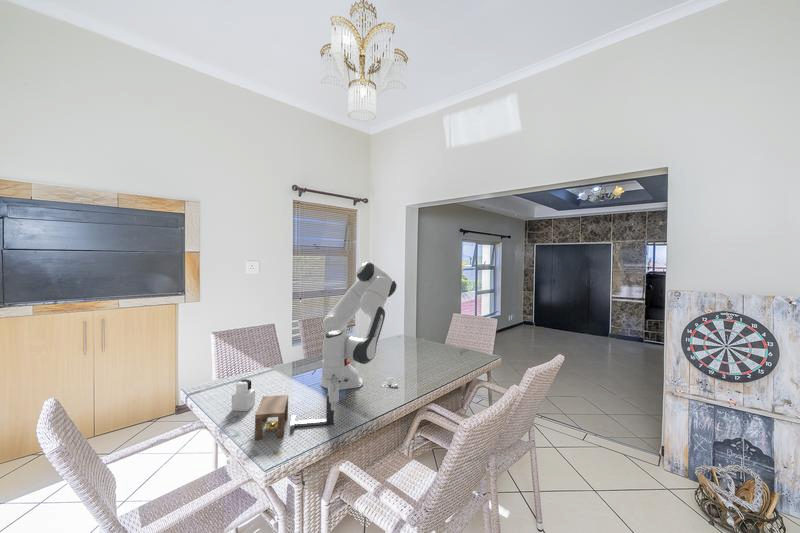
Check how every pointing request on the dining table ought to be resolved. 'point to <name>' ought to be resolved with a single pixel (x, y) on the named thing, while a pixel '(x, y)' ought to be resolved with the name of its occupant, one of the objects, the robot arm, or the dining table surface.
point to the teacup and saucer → (390, 382)
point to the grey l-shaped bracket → (327, 421)
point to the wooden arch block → (271, 413)
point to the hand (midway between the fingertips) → (332, 404)
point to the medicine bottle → (243, 396)
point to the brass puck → (272, 425)
